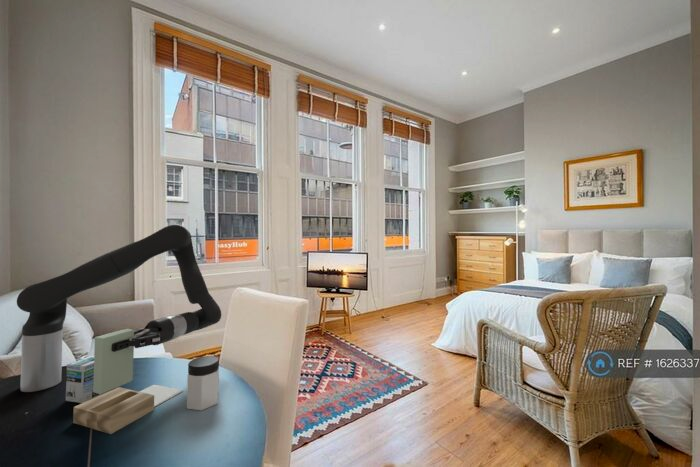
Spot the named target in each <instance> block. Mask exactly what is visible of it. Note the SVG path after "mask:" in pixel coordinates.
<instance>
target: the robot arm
mask: <svg viewBox="0 0 700 467" xmlns="http://www.w3.org/2000/svg"><path fill="white" fill-rule="evenodd" d="M169 251H171V253H172V254H173V256H174V258H175V261H176V262H177V266H178V268H179V274H180V277H181V282H182V285H183V289H184V290H185V294H186V297H187V300H188V301H189V303H190V304H191V305H199V306H200V309H198V310H197V309H196V310H195V311H191V312H190V311H188V312H187V311H186V312H183V313H180V314H179V313H177V314H175V315H168V316H165V317H160V318H157V319H153V320H151V321H149V322H147V323H146V325H145V327H141V328H137V329H134V337H131V338H128V339H125V340H122V341H119V342H115V343H113V344H112V351H113V352H116V351H119V350H122V349H125V348H132V347H134V349H139V348H144V347H148V346H159V345H162V344H164V343H167V342H169V341H172V340H176V339H177V338H180V337H182V336H185V335H187V334H190V333H192V332H196V331H199V330H203V329H205V328H208V327H212V326H214V325H215V324H218V323H219V322H221V319H222V310H221V307H220V305H219V304H218V303H217V302H216V300H215V299H214V298H213V296H212V295H211V293H210V292H209V290H208V286H207V284H206V282H205V280H204V277H203V274H202V272H201V269H200V267H199V264H198V262H197V259H196V255H195V252H194V246H193V240H192V234H191V233H190V231H189V230H188V229H187V228H186V227H185V226H183V225H181V224H177V223H175V224H174V223H173V224H169V225H166V226H165V227H163V228H162V227H161V229H159V230H157V231H155V232H154V233H151V234H150V235H148V236H146V237H143V238H142V239H140V240H136V241H135V242H130V243H129V244H126V245H124V246H121V247H120V248H117V249H114V250H111V251H109V252H107V253H104V254H102V255H99V256H98V257H95V258H94V259H91V260H89V261H87V262H85V263H83V264H81V265H79V266H78V267H75V268H73V269H72V270H70V271H68V272H65V273H63V274H61V275H59V276H55V277H53V278H50V279H47V280H43V281H41V282H38V283H33V284H30V285H28V286H26V287H25V288H23V290H22V291H21V292H20V293H19V294H18V296H17V297H16V305H17V307H18V309H20V310H21V311H23V312H25V313H29V315H28V318H27V320H26V322H25V323H24V324H23V326H22V331H21V333H22V334H21V356H20V357H21V358H20V359H21V360H20V361H21V362H20V383H19V384H20V385H19V387H20V392H23V393H34V392H39V391H43V390H47V389H49V388H52V387H54V386H57V385H59V384H60V383H61V382H62V368H63V364H62V362H63V360H62V359H63V330H64V329H63V328H64V322H65V320H66V316H67V305H68V298H70V297H72V296H75V295H76V294H79V293H81V292H84V291H87V290H90V289H93V288H96V287H98V286H102V285H105V284H107V283H110V282H113V281H115V280H117V279H119V278H121V277H124V276H126V275H128V274H129V273H132V272H133V271H135V270H137V269H138V268H140V267H141V266H142V265H143V264H144V263H145V264H146V262H147V261H149V260H151V259H152V258H154V257H156V256H158V255H161V254H163V253H166V252H169Z"/></svg>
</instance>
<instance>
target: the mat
mask: <svg viewBox="0 0 700 467" xmlns="http://www.w3.org/2000/svg"><path fill="white" fill-rule="evenodd" d="M183 391H184V390H182V389H179V388H172V387H167V386H164V385H158V384H152V385H150V386H149V387H148V386H147V387H146V388H144V389H142V390H140V391H139V392H142V393H147V394H151V395H154V408H156V407H157V406H159V405H161V404H164V403H165V402H167V401H168V400H170V399H172V398H174V397H176V396H177V395H179V394H181V393H183Z"/></svg>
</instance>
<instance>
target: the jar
mask: <svg viewBox="0 0 700 467" xmlns="http://www.w3.org/2000/svg"><path fill="white" fill-rule="evenodd" d="M187 367H188V368H187V373H188V374H187V380H186V382H187V388H186V394H187V396H186V399H187V400H186V409H187V410H195V411H203V410H206V409H208V408H210V407H213V406H215V405H217V404H218V401H219V391H220V388H219V387H220V377H219V376H220V358H219V357H217V356H215V355H206V356H200V357H196V358H193V359H192V360H189V362H188V364H187Z"/></svg>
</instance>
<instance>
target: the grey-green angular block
mask: <svg viewBox="0 0 700 467" xmlns="http://www.w3.org/2000/svg"><path fill="white" fill-rule="evenodd" d="M134 331H135V329H131V328H124V329H120V330H116V331H113V332H109V333H105V334H101V335H99V336H95V337H94V352H93V353H94V354H93V355H94V381H93V392H95V393H99V394H101V395H102V394H105V393H107V392H109V391H111V390H114V389H116V388H118V387H121V386H124V385H126V384H128V383H130V382H132V381H133V380H134V356H135V354H134V352H135V347H132V348H125V349H122V350H119V351H116V352H113V351H112V344H113V343H115V342H119V341H122V340H125V339H128V338H131V337H134Z"/></svg>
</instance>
